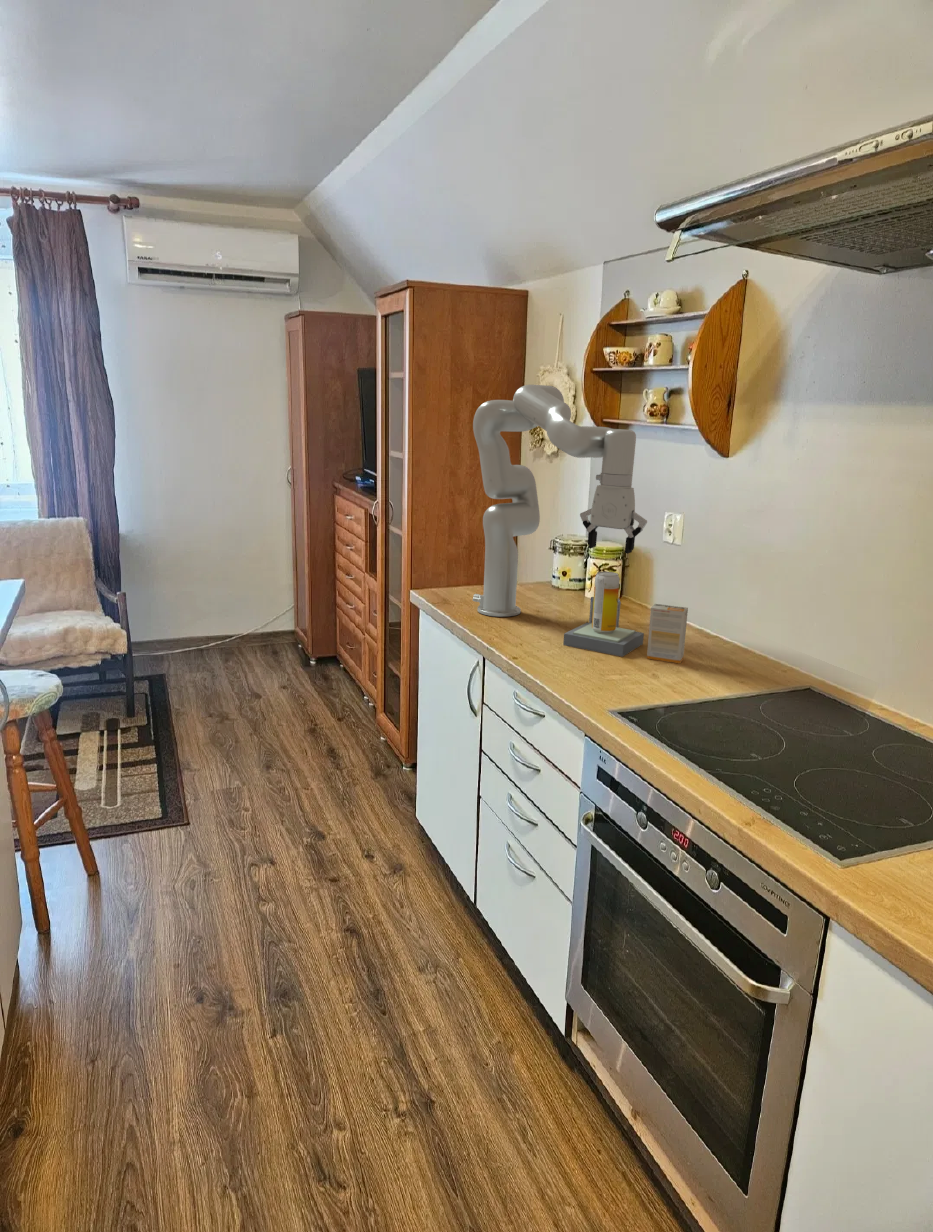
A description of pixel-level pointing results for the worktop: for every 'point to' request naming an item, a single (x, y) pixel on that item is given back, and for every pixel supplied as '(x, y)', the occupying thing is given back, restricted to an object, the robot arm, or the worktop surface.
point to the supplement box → (667, 633)
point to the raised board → (604, 640)
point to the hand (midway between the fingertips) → (610, 550)
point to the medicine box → (617, 611)
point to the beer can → (605, 602)
